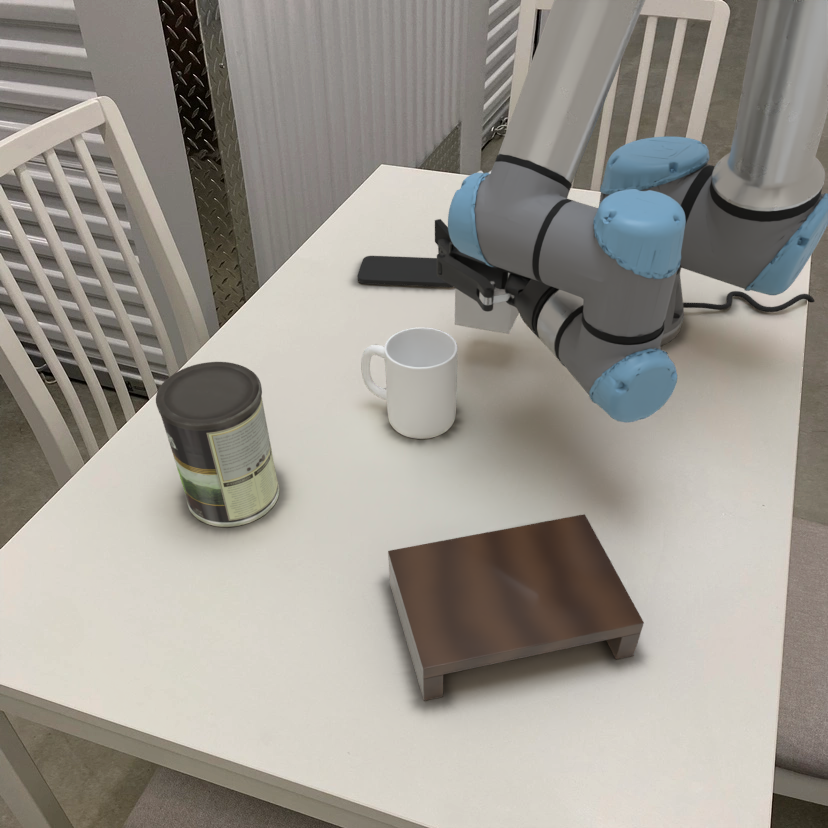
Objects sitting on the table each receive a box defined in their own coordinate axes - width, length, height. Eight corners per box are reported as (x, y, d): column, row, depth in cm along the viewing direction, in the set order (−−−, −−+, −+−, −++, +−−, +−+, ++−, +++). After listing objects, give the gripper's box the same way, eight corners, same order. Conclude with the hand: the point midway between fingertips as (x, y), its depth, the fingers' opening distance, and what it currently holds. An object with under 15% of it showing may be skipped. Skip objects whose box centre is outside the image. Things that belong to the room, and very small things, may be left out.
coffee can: (182, 531, 87) (148, 427, 77) (192, 467, 94) (162, 364, 84) (279, 524, 88) (258, 420, 77) (281, 461, 95) (263, 357, 84)
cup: (439, 447, 96) (440, 375, 88) (348, 422, 99) (342, 350, 92) (466, 407, 101) (468, 336, 93) (378, 385, 104) (374, 314, 97)
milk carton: (522, 306, 106) (535, 154, 92) (508, 335, 101) (520, 181, 87) (470, 297, 108) (474, 147, 93) (454, 326, 103) (456, 173, 89)
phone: (364, 254, 126) (461, 258, 124) (364, 260, 126) (461, 263, 125) (355, 279, 121) (457, 283, 119) (356, 284, 121) (457, 288, 120)
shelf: (578, 548, 85) (584, 513, 81) (633, 655, 75) (644, 622, 72) (389, 584, 82) (387, 550, 78) (423, 701, 72) (423, 669, 69)
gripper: (467, 368, 86) (392, 269, 100) (652, 321, 91) (556, 233, 105) (469, 304, 80) (389, 209, 94) (666, 258, 85) (563, 174, 99)
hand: (477, 222), depth 99 cm, fingers closed on milk carton, 10 cm apart
